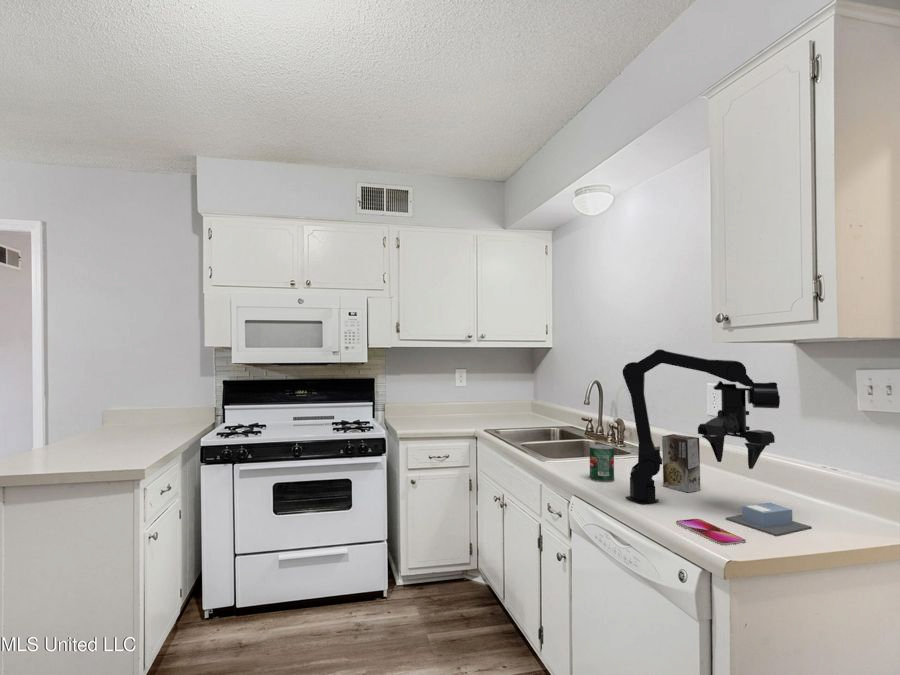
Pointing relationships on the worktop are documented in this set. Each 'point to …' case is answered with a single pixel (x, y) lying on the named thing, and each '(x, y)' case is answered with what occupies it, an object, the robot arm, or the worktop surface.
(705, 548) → the worktop surface
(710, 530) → the smartphone
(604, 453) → the canned tomato
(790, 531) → the mat
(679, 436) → the coffee box
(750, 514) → the card box
